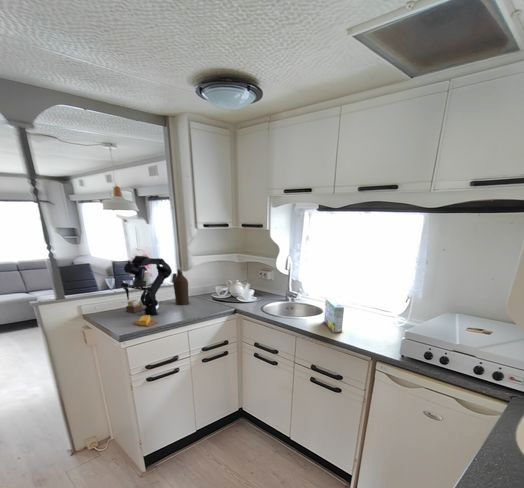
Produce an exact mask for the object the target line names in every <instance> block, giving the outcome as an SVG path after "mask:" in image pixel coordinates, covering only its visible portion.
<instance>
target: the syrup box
mask: <svg viewBox="0 0 524 488" xmlns="http://www.w3.org/2000/svg"><path fill="white" fill-rule="evenodd" d="M156 300H157V301H158V302H159V300H158V299H156ZM136 301H139V305H141V306H142V310H145V305H143V304H142V302H141V298H139V299H136ZM159 308H160V305H159V303H158V305H157V306H156V310H158V309H159Z"/></svg>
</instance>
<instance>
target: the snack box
mask: <svg viewBox="0 0 524 488" xmlns="http://www.w3.org/2000/svg"><path fill="white" fill-rule="evenodd" d="M324 304H325V307H324V319H323V321H324V323H325V325H326V326H327V327H328V328H329V329H330V331H331V332H332V333H342V332H343V321H344V320H343V319H344V311H345V307H344V306H343V305H342V304H341V303H340V302H338V301H337V300H336V299H335V298H325V303H324Z"/></svg>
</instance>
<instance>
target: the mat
mask: <svg viewBox="0 0 524 488" xmlns="http://www.w3.org/2000/svg"><path fill="white" fill-rule="evenodd" d="M155 324H157V321H152V320H150V321H149V323H148V324H147V325H141V326H142V327H150V326H152V325H155ZM133 325H138V326H140V325H139V320H138V321H135V322H133Z"/></svg>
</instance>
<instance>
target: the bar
mask: <svg viewBox="0 0 524 488" xmlns="http://www.w3.org/2000/svg"><path fill="white" fill-rule="evenodd" d="M138 321H139V325H138V326H142V325H147V324H148V323H149V321H151V315H146V314H143V315H142V316H141V317H140V318H139V319H138Z"/></svg>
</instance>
